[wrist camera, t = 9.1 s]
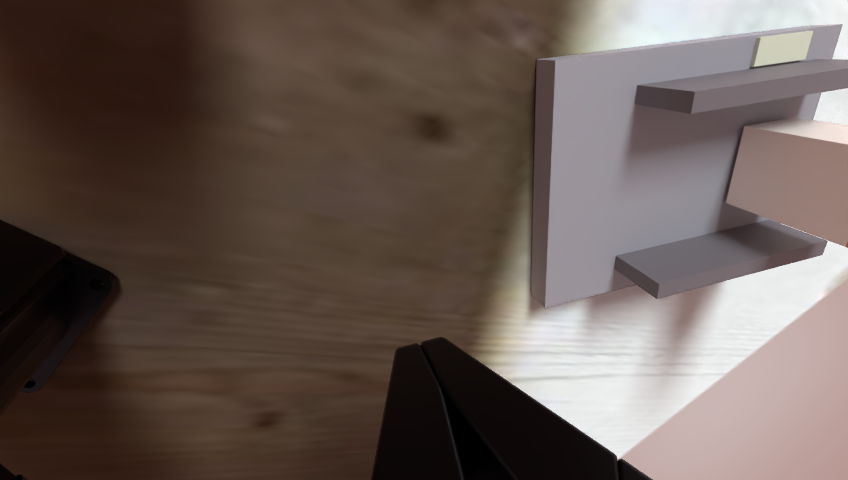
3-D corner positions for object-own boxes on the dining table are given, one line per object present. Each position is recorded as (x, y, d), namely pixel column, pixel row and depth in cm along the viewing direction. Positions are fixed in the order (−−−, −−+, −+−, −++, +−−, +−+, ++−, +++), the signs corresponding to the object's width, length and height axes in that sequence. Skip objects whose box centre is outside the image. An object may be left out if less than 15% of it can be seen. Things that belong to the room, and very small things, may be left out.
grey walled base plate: (530, 293, 23) (578, 343, 19) (536, 59, 18) (604, 62, 14) (748, 239, 26) (828, 274, 22) (808, 25, 21) (926, 20, 17)
